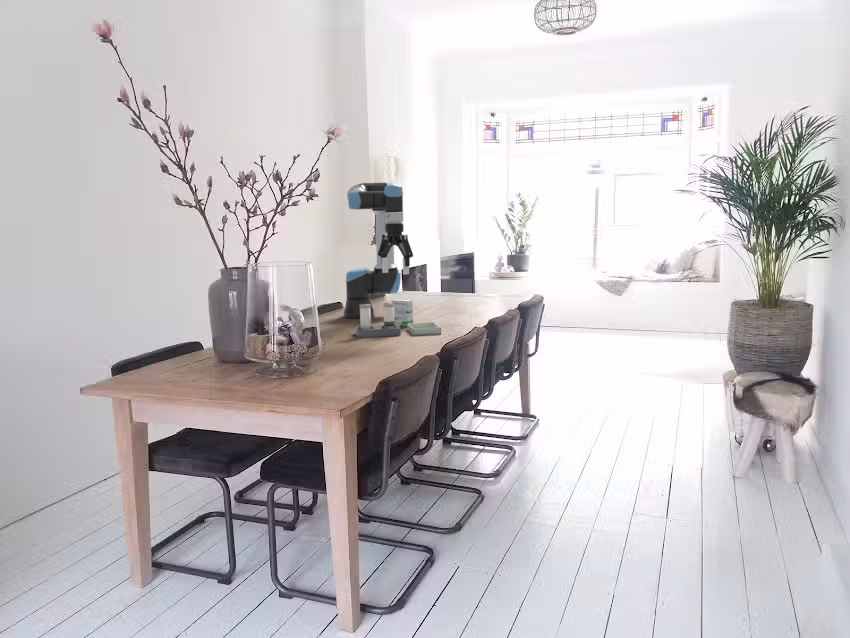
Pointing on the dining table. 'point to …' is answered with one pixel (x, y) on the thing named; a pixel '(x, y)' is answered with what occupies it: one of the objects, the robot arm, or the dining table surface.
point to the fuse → (365, 316)
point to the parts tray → (423, 328)
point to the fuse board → (377, 331)
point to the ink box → (403, 312)
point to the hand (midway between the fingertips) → (395, 273)
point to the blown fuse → (388, 315)
